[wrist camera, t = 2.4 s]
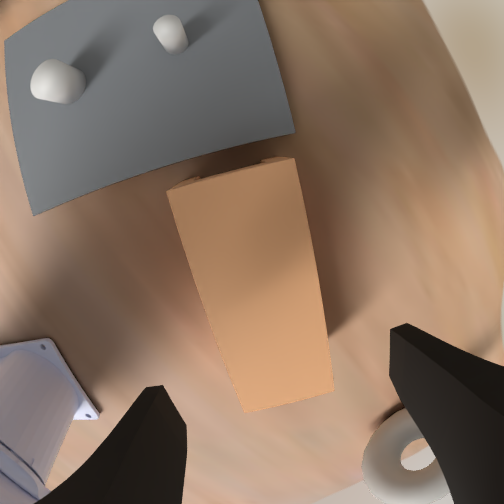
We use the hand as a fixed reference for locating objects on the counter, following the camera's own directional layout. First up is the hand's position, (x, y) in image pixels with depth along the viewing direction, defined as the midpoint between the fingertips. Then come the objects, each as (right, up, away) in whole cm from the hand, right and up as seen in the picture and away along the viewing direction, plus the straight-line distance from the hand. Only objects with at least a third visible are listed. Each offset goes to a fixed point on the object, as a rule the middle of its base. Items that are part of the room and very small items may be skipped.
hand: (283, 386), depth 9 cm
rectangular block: (-1, +3, +9) cm, 9 cm away
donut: (+12, -11, +14) cm, 21 cm away
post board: (-8, +14, +4) cm, 16 cm away
